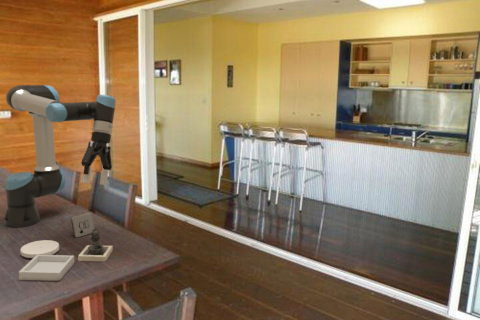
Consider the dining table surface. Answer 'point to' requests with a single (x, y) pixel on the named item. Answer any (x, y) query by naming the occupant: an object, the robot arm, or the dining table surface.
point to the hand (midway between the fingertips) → (94, 184)
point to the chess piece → (95, 243)
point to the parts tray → (47, 267)
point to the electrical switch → (82, 224)
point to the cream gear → (39, 248)
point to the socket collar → (85, 257)
